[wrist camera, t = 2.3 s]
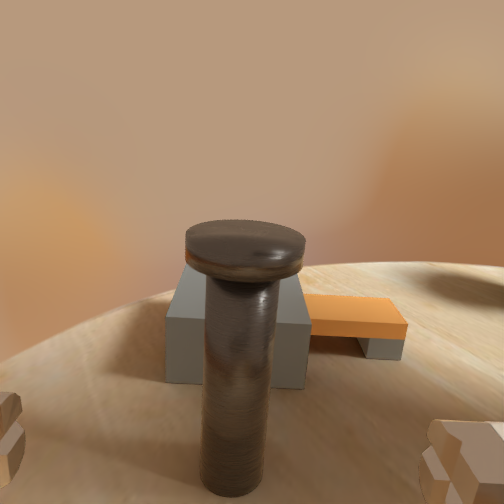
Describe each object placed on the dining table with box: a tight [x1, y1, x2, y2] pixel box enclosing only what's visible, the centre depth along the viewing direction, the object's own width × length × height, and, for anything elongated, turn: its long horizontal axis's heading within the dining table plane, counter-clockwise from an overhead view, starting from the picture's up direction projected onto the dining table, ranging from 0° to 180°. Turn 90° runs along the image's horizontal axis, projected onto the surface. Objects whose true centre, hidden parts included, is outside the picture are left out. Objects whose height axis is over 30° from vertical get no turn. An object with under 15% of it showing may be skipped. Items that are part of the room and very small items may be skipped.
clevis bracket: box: [165, 263, 408, 389], centre depth 37 cm, size 19×12×6 cm, turn 90°
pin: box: [185, 220, 306, 497], centre depth 22 cm, size 6×6×14 cm
